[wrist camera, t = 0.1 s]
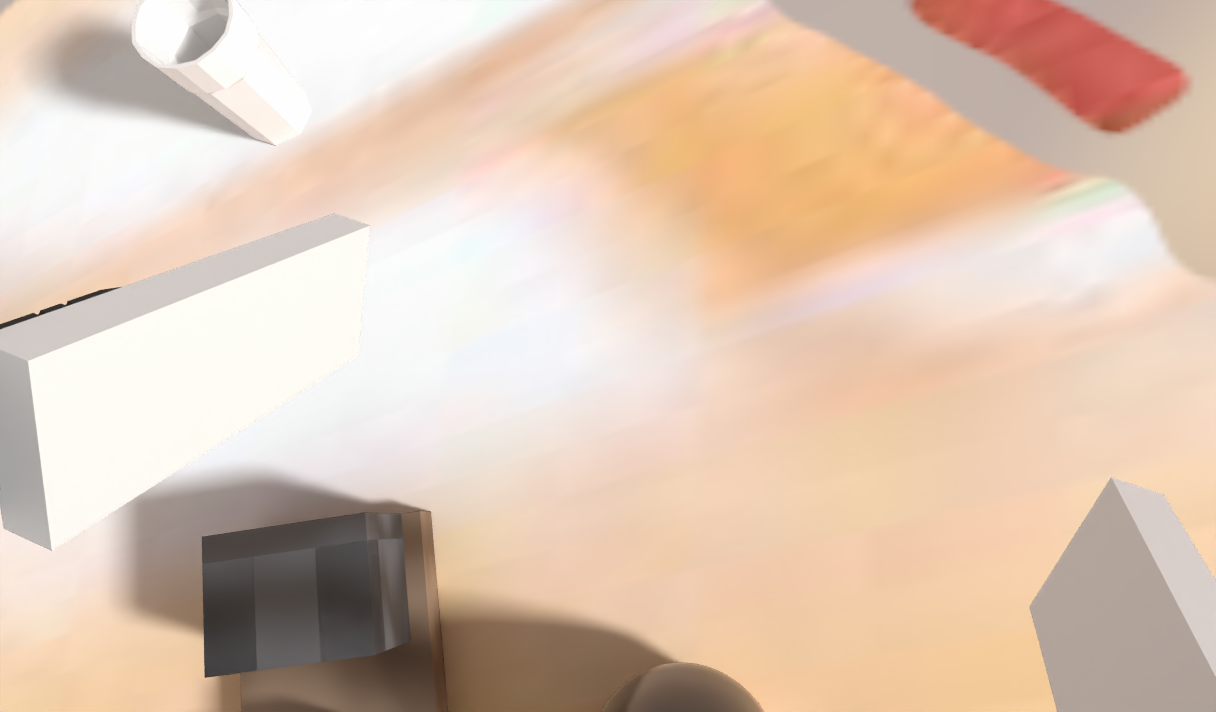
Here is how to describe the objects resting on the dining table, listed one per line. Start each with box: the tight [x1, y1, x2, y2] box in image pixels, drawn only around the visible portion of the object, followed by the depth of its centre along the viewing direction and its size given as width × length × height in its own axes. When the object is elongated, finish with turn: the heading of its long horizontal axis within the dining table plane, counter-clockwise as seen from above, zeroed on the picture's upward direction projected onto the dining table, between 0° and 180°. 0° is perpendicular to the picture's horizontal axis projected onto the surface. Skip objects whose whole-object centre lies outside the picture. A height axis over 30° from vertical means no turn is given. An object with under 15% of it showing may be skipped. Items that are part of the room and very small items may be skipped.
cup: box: [131, 0, 312, 146], centre depth 52 cm, size 7×7×11 cm
